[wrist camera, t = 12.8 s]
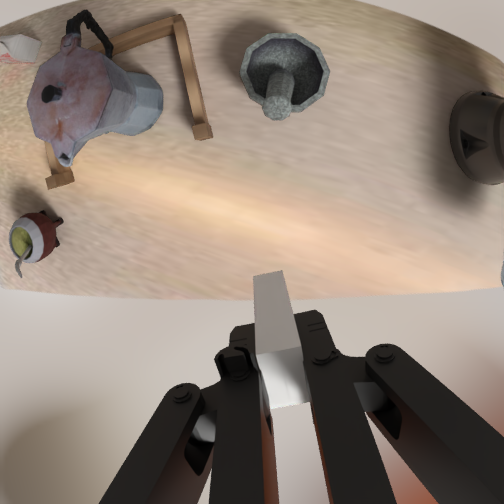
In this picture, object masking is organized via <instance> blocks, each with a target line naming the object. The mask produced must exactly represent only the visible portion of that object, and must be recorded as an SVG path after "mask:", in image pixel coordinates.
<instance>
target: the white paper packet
mask: <svg viewBox="0 0 504 504" xmlns="http://www.w3.org/2000/svg"><path fill="white" fill-rule="evenodd" d="M41 43H42V42H41V41H38V40H36V39H33V38H30V37H28V36H25V35H22V34H16V35H7V36H0V62H5V63H35V60H36V57H37V54H38V51H39V49H40V46H41Z"/></svg>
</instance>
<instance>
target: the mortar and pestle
mask: <svg viewBox="0 0 504 504" xmlns="http://www.w3.org/2000/svg"><path fill="white" fill-rule="evenodd" d="M329 74H330V70H329V68H328V65H327V63H326V61H325V59H324V56H323V54H322V52H321V50H320V48H319V47H317V46H316V45H314V44H313V43H311V42H310V41H308V40H306V39H305V38H303V37H302V36H300V35H298V34H297V33H268V34H267V35H265V36H264V37H262V38H261V39H259V40H258V41H256V42H255V43H253V44H252V45H250V46H249V47H248V48H247V49H246V52H245V56H244V59H243V62H242V65H241V69H240V76H241V79H242V81H243V83H244V86H245V88H246V90H247V93H248V95H249V98H250V99H252V100H253V101H255V102H257V103H258V104H260V105H262V109H263V111H264V114H265V116H267V117H268V118H270V119H272V120H283V119H285V118H286V117H288V116H289V115H290V112H302V111H303V110H304V109H306V108H307V107H308V106H310V105H311V104H313V103H314V102H315V101H317V100H318V99H320V98H321V97H322V96H324V93H325V89H326V85H327V81H328V78H329Z"/></svg>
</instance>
